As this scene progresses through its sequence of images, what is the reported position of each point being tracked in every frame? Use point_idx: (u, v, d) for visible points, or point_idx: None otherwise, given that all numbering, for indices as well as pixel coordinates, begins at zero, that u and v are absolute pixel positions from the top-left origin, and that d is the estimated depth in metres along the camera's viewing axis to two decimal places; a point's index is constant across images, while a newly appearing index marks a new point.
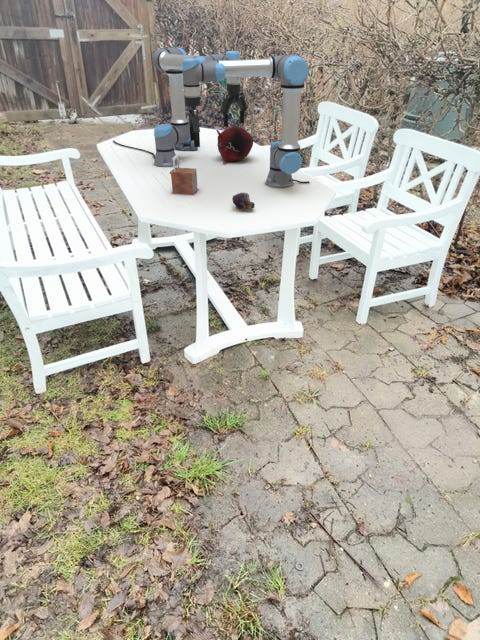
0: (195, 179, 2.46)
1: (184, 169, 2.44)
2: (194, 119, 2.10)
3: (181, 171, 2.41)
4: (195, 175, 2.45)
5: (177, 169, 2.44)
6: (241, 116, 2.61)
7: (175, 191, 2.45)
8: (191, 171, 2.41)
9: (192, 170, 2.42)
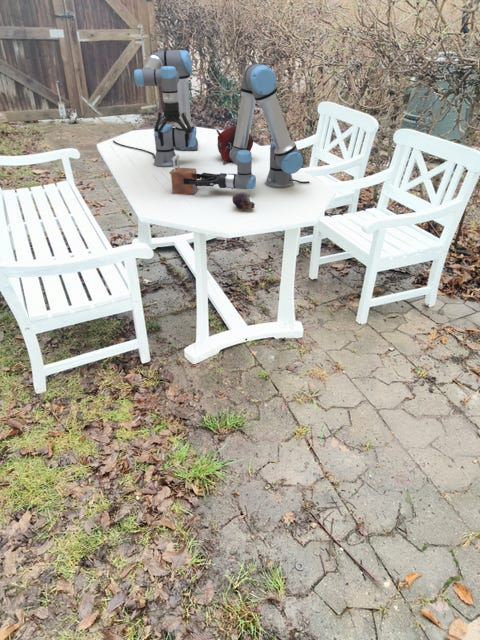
0: None
1: (184, 169, 2.44)
2: None
3: (181, 171, 2.41)
4: (195, 175, 2.45)
5: (177, 169, 2.44)
6: None
7: (175, 191, 2.45)
8: (191, 171, 2.41)
9: (192, 170, 2.42)
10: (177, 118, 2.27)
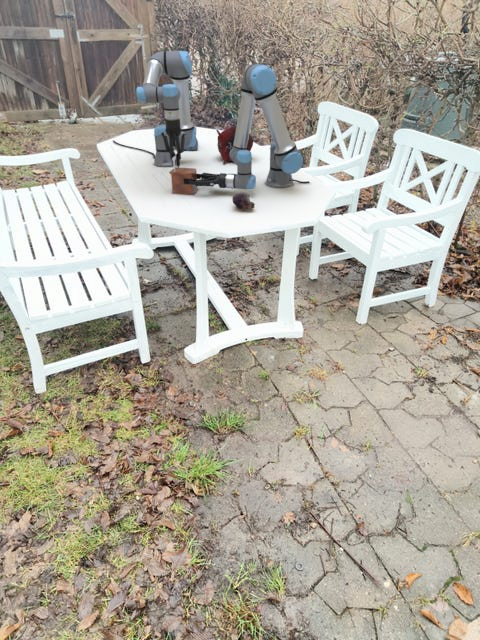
0: None
1: (184, 169, 2.44)
2: None
3: (181, 171, 2.41)
4: (195, 175, 2.45)
5: (177, 169, 2.44)
6: None
7: (175, 191, 2.45)
8: (191, 171, 2.41)
9: (192, 170, 2.42)
10: (177, 136, 2.32)
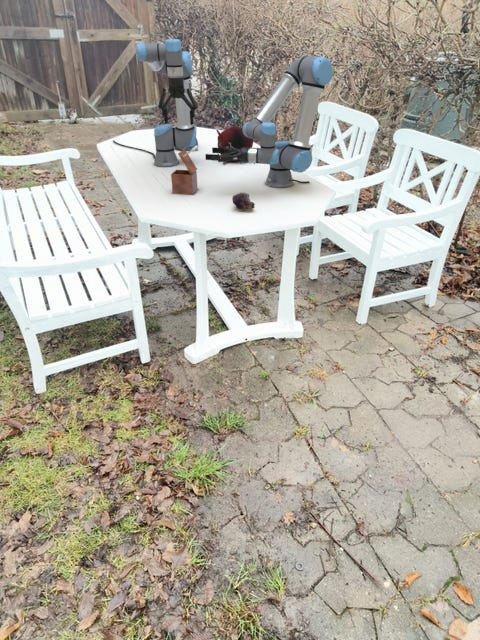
0: (195, 179, 2.46)
1: (189, 160, 2.40)
2: None
3: (187, 161, 2.37)
4: (195, 175, 2.45)
5: (185, 154, 2.38)
6: None
7: (175, 191, 2.45)
8: (193, 170, 2.40)
9: (194, 169, 2.41)
10: (182, 94, 2.20)
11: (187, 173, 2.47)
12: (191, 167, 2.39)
